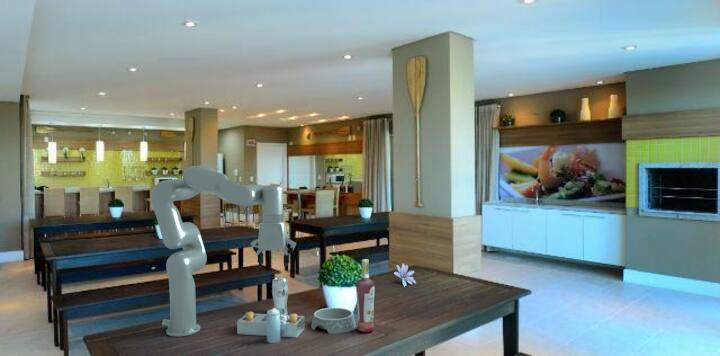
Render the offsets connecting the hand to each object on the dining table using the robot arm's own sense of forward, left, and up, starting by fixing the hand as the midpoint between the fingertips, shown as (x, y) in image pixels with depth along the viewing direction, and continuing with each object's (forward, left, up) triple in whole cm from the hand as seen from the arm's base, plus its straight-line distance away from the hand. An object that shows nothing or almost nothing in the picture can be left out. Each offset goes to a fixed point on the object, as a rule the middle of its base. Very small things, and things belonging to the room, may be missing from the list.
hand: (273, 265), depth 175 cm
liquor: (+32, +15, -28) cm, 45 cm away
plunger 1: (-13, +9, -26) cm, 31 cm away
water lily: (+43, +87, -29) cm, 101 cm away
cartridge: (0, 0, -28) cm, 28 cm away
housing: (-5, +9, -28) cm, 30 cm away
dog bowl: (+18, +19, -29) cm, 39 cm away
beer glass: (-8, +30, -28) cm, 42 cm away
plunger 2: (+4, +9, -26) cm, 28 cm away
